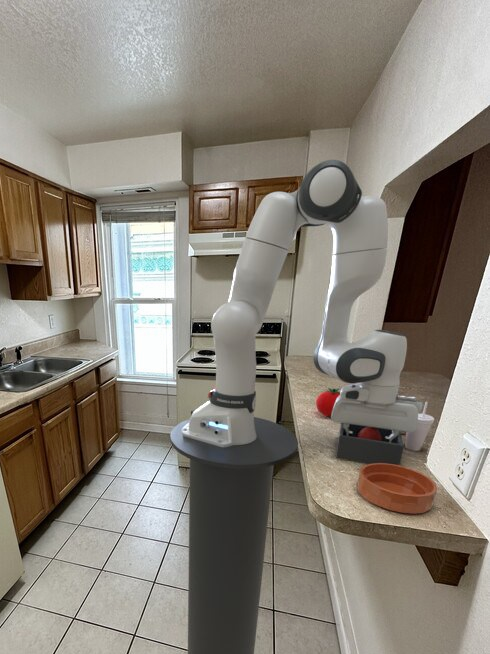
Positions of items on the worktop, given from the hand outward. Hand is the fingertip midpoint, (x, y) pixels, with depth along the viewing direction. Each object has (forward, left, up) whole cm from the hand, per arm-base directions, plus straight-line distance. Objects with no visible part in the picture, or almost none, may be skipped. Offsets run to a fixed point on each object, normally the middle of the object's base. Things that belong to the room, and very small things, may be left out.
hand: (367, 440), depth 98 cm
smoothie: (+12, +9, -4) cm, 16 cm away
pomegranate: (0, 0, -3) cm, 3 cm away
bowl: (+5, -22, -4) cm, 23 cm away
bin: (0, 0, -4) cm, 4 cm away
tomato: (-11, +28, -4) cm, 30 cm away
